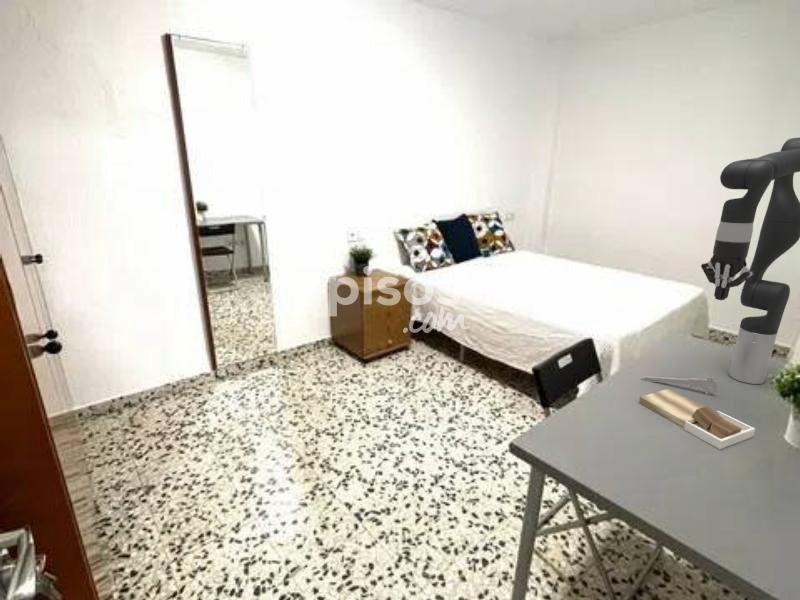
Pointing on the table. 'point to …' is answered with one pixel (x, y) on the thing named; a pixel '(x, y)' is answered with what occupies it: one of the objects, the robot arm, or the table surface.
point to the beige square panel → (671, 406)
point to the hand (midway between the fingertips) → (720, 299)
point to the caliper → (686, 382)
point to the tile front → (724, 428)
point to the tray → (716, 441)
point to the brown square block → (706, 416)
